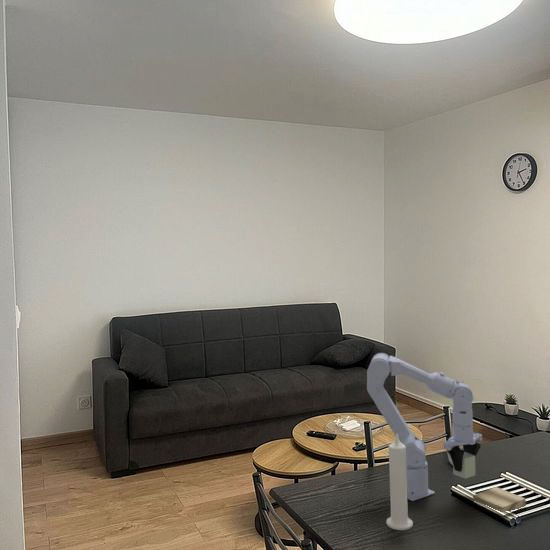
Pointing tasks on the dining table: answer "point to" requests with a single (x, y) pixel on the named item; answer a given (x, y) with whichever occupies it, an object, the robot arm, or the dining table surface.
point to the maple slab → (500, 499)
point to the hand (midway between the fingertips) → (463, 468)
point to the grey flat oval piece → (449, 455)
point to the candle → (398, 487)
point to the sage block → (466, 466)
